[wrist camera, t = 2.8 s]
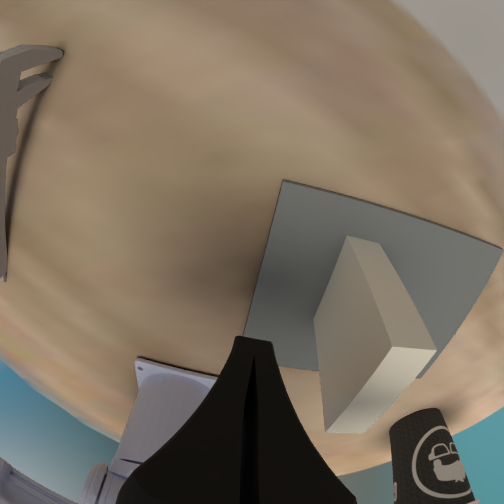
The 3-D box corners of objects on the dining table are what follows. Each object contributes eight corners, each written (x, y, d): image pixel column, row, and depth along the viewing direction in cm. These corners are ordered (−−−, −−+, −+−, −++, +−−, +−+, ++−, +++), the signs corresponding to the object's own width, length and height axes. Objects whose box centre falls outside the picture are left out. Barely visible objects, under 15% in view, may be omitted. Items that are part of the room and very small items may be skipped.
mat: (419, 374, 22) (420, 378, 21) (237, 354, 21) (237, 358, 21) (500, 247, 15) (503, 250, 15) (283, 179, 15) (283, 181, 14)
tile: (342, 324, 18) (364, 433, 11) (313, 319, 18) (324, 432, 11) (380, 243, 15) (438, 350, 8) (346, 235, 15) (392, 346, 8)
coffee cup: (369, 422, 26) (384, 550, 13) (453, 388, 23) (490, 511, 10) (383, 448, 29) (395, 547, 16) (451, 421, 27) (475, 518, 14)
